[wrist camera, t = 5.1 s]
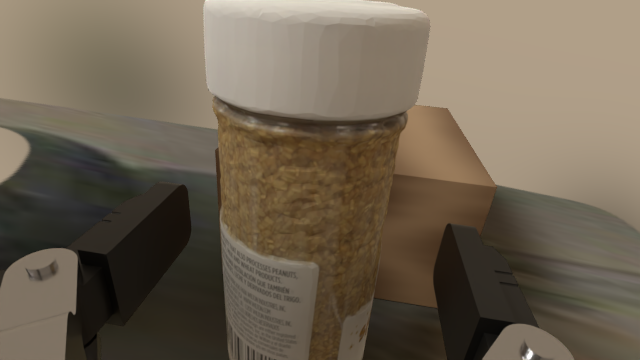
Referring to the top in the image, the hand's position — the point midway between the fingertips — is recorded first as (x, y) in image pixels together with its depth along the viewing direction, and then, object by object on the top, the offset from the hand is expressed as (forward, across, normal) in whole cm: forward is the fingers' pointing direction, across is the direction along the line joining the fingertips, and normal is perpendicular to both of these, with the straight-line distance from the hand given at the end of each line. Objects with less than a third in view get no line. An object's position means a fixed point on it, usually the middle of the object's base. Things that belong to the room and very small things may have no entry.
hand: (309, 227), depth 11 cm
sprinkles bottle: (-1, 0, +7) cm, 7 cm away
